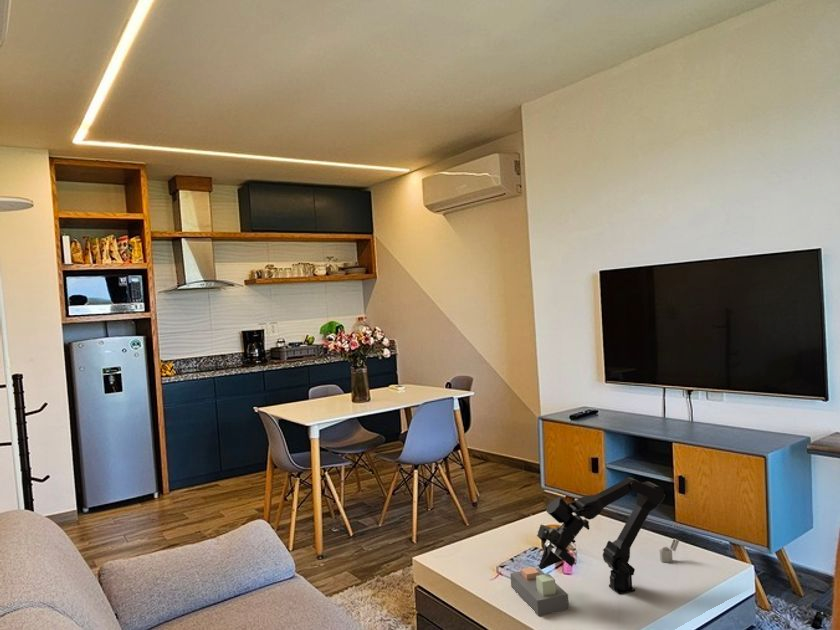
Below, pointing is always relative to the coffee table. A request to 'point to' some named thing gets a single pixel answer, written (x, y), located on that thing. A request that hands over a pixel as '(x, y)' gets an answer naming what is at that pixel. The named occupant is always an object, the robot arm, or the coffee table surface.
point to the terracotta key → (529, 573)
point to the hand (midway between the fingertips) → (539, 568)
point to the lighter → (668, 552)
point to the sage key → (545, 584)
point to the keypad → (539, 595)
